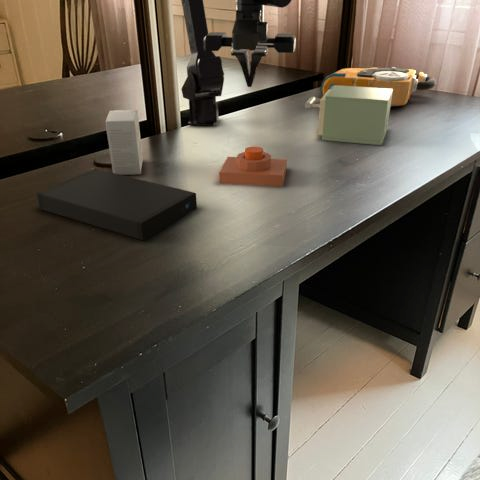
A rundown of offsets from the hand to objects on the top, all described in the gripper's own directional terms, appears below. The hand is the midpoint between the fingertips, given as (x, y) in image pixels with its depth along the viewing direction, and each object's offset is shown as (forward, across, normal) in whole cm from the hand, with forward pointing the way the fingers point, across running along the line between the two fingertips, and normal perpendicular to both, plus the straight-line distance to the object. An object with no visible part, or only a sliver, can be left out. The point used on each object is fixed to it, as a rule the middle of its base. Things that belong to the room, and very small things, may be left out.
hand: (249, 86), depth 116 cm
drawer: (+11, +20, +9) cm, 25 cm away
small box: (+12, -22, -21) cm, 33 cm away
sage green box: (+12, +24, +8) cm, 28 cm away
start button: (+8, +4, -22) cm, 24 cm away
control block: (+12, +4, -22) cm, 25 cm away
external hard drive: (+12, -17, -41) cm, 46 cm away
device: (+12, +31, +44) cm, 55 cm away
